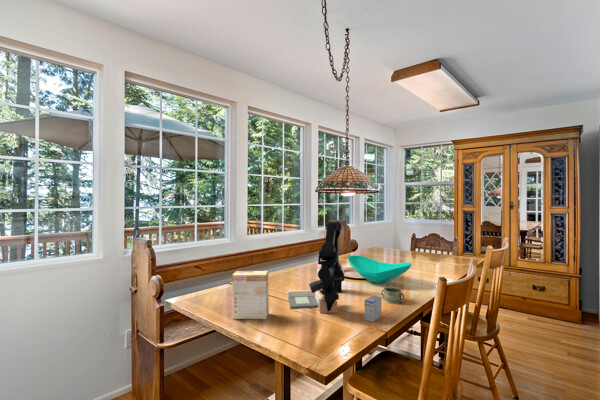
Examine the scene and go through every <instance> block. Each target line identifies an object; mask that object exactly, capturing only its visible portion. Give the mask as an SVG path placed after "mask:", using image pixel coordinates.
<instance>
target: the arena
mask: <svg viewBox="0 0 600 400" xmlns="http://www.w3.org/2000/svg"><path fill="white" fill-rule="evenodd" d="M318 299H322V297H321V295H320V292H319V290H318V291H316V292H315V293H312V291H311V289H306V290H305V289H304V290H303V289H302V290H288V291H287V300H288V304H289V309H290V310H292V309H311V308H315V309H316V308H318Z"/></svg>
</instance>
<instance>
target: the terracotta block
mask: <svg viewBox="0 0 600 400" xmlns="http://www.w3.org/2000/svg"><path fill="white" fill-rule="evenodd" d="M317 308H318V312H319V314H337V313H338V301H337V300H335V302H334V304H333V306H332V308H331V310H330V311H328V310H327V304H326V300H325V299H324V298H321V299H318V307H317Z"/></svg>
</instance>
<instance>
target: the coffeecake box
mask: <svg viewBox="0 0 600 400" xmlns="http://www.w3.org/2000/svg"><path fill="white" fill-rule="evenodd" d="M231 279H232V281H231V283H232V285H231V286H232V287H231V289H232V290H231V291H232V294H231V297H232V320H267V319H268V316H269V311H270V310H269V309H270V308H269V307H270V306H269V271H268V270H236V271H234V273H232V275H231Z"/></svg>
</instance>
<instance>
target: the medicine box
mask: <svg viewBox="0 0 600 400" xmlns="http://www.w3.org/2000/svg"><path fill="white" fill-rule="evenodd" d="M363 303H364V306H363V307H364V313H363V314H364V316H363V318H364V320H366V321H368V322H372V323H375V321H377V320H379V319H380V318H381V317H382V297H380V296H378V295H371V296H369V297H368V298H366V299H364V301H363Z"/></svg>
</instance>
